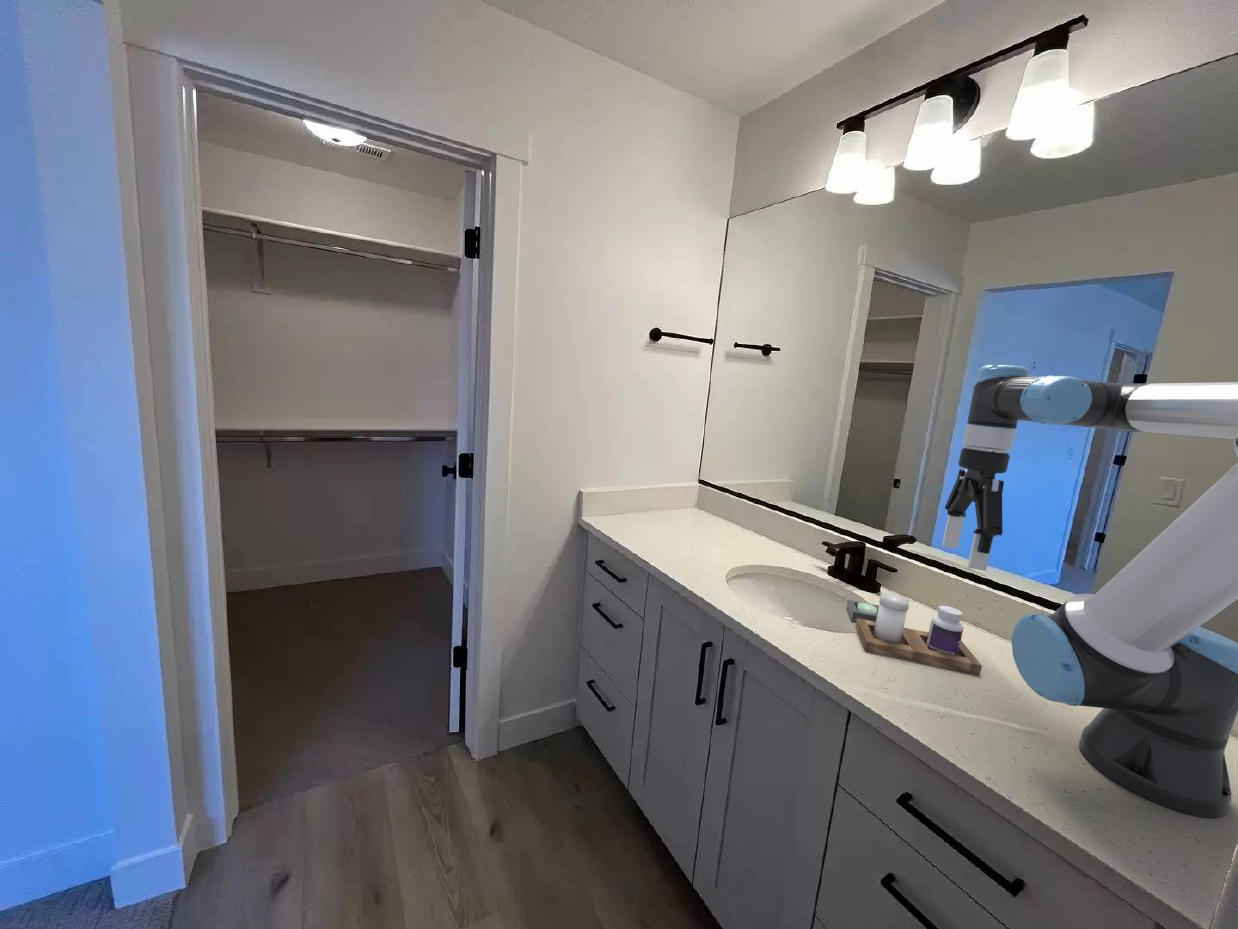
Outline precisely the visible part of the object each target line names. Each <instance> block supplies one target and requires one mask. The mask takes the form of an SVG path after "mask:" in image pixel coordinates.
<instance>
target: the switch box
mask: <svg viewBox="0 0 1238 929" xmlns="http://www.w3.org/2000/svg"><path fill="white" fill-rule="evenodd" d="M858 603H865V602H863V601H858V600H853V599H847V604H846V609H845V610H846V613H847V615H848V618H849V620H850V622H851V623H852V624H856V620H857V618H859V619H864V620H869V621H874V622H876V619H877V614H878V609H879V605H878V604H873V603H868V602H867V603H868V604H871V605H873V606H875V607H876V608H877V613H876V614H872V613H867V612H862V611H858V610H857V606H858Z"/></svg>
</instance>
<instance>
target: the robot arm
mask: <svg viewBox="0 0 1238 929" xmlns="http://www.w3.org/2000/svg"><path fill="white" fill-rule="evenodd" d="M1029 372H1030V371H1029V369H1028V368H1027V367H1026V366H1021V365H1020V366H1019V365H1009V364H1008V365H1007V364H1006V365H1005V364H998V365H997V364H986V365H983V366H982V367H980V368H979V369H978V373H977V377H976V380H975V383H974V385H973V391H972V396H971V402H970V407H969V410H968V412H969V413H968V417H967V423H966V425H965V428H964V433H963V438H962V442H961V444H963V445H964V447H962V449H961V448H960V449H961V450H960V455H959V459H958V464H957V465H958V466H959V467H960V469H959V470H958V473H957V478H956V480H955V483H954V485H953V488H952V489H951V492H950V494H949V497H948V499H947V501H946V502H945V506H944V509H945V510H946V511H947V519H946V525H945V530H944V533H943V538H942V543H941V544H942V545H941V547H945V548H951V549H959V546H960V540H961V535H962V531H963V527H964V522H965V518H967V513H966V511H967V510H968V509H969V507H970V505H971V504H972V502H974V507H975V516H976V524H977V528H975V529H974V531H973V533H974V535H973V541H972V544H971V547H970V548H971V549H970V552H969V553H970V554H969V558H968V562H967V568H969V569H973V570H980V571H987V568H988V564H989V560H990V556H991V550H992V546H993V541H994V537H996V536H1000V537H1001V536H1002V535H1003V490H1004V487H1005V486H1004V485H1005V482H1004V480H1000V479H996V474H1005V473H1007V470H1008V467H1009V462H1010V458H1011V455H1010V453H1007V451H1008V452H1009V451H1011V450H1012V447H1013V442H1014V440H1016V439H1017V437H1018V436H1017V434H1015V433H1016V429H1017V428H1018V427H1017V426H1018V421H1023V422H1024V421H1025V422H1029V423H1030V422H1032V423H1038V424H1046V425H1047V424H1049V425H1061V426H1073V427H1081V428H1094V429H1103V430H1112V431H1119V432H1124V433H1126V432H1127V433H1153V434H1155V433H1156V434H1168V435H1169V434H1170V435H1178V436H1179V435H1180V436H1181V435H1182V436H1193V437H1207V438H1219V439H1231V440H1234V441H1233V442H1232V447H1233V449H1234V452H1235V454H1236V457H1237V458H1238V381H1226V382H1225V381H1223V382H1222V381H1221V382H1220V381H1217V382H1215V381H1213V382H1173V383H1171V382H1167V383H1165V382H1163V383H1160V382H1159V383H1119V382H1117V383H1115V382H1105V381H1104V382H1103V381H1096V380H1088V379H1087V380H1086V379H1085V380H1084V379H1080V378H1078V377H1075V376H1067V375H1056V374H1050V375H1047V376H1046V375H1044V376H1029ZM1237 600H1238V462H1237V463H1236V464H1235V465H1234V466H1232V467H1231V468H1230V469H1229V470H1228V471H1227V472H1226V473H1225V474H1223V476H1222V477H1220V478H1219V480H1217V481H1216V482H1215V483H1214V484H1212V485H1211V487H1210V488H1208V490H1206V491H1205V492H1204V493H1203V494H1202V495H1201V496H1200V497H1199V498H1198V499H1196V501H1194V502H1193V503H1192V504H1191V505H1190V506H1189V507H1188V508H1187V509H1186V510H1184V512H1182V513H1181V514H1180V515H1179V516H1178V517H1177V518H1176V519H1175V520H1174V521H1172V522H1171V523H1170V524H1169V525H1168V526H1167V528H1165V529H1163V530H1162V532H1161V533H1160V534H1159V535H1157V536H1156V537H1155V538H1154V539H1153V540H1152V541H1151V542H1150V543H1149V544H1148V545H1147V546H1146V547H1144V548H1143V549H1142V550H1141V551H1140V552H1139V553H1137V555H1136V556H1135V557H1134V558H1133V559H1131V560H1130V561H1129V562H1128V563H1127V564H1126V565H1125V566H1124V567H1123V568H1122V569H1120V570H1119V571H1118V573H1117V574H1115V575H1114V576H1113V577H1112V578H1111V579H1110V580H1109V581H1108V582H1106V584H1105V585H1103V586H1102V587H1101V588H1100V589H1099V590H1098V591H1097V592H1095V594H1092V593H1078V594H1075V595H1073V596H1071V597H1069V598H1068V599H1067V600H1065V602H1064V603H1063V604H1061V606H1060V607H1059V608H1057V609H1056V610H1055V611H1054V612H1053V613H1051V614H1048V615H1047V614H1044V613H1039V612H1035V613H1029V614H1025V615H1023V616H1022V617H1020V618H1019V619H1018V620H1017V621H1016V623H1015V624H1014V626H1013V629H1012V633H1011V647H1012V648H1011V649H1012V650H1011V651H1012V656H1013V660H1014V663H1015V665H1016V669H1017V671H1018V673H1019V674H1020V676H1021V678H1022V679H1023V681H1024V683H1025V684H1026V685H1027V686H1028V687H1029V688H1030V689H1031V690H1032V691H1033V692H1034V693H1035V694H1037V695H1038V696H1040V697H1042V698H1044V699H1046V700H1047V701H1050V702H1055V703H1060V704H1065V705H1067V706H1071V707H1078V706H1080V707H1089V708H1099V709H1101V710H1100V711H1099V713H1097V715H1095V717H1093V719H1092V720H1091V721H1090V723H1089V724H1088V725H1086V726H1085V727H1084V728H1083V730H1082V731H1081V735H1080V739H1079V743H1078V747H1079V750H1080V752H1081V754H1082V755H1083V757H1084V758H1085V759H1086V760H1087V761H1088V762H1089V763H1090V764H1091V765H1093V767H1094V768H1096V769H1097V770H1098V771H1100V772H1101V773H1102V774H1104V775H1105V776H1106V777H1108V778H1110V779H1111V780H1112V781H1114V782H1115V783H1117V784H1119V785H1121V786H1122V787H1124V788H1125V789H1128V790H1129V791H1132V792H1133V793H1135V794H1137V795H1139V796H1141V797H1143V798H1146V799H1147V800H1150V801H1152V802H1154V803H1157V804H1159V805H1161V806H1164V807H1167V808H1169V809H1172V810H1175V811H1178V812H1181V813H1184V814H1188V815H1192V816H1196V817H1204V818H1221V817H1223V816H1225V815H1226V814H1228V813H1227V812H1228V810H1229V807H1230V806H1231V805H1230V804H1231V802H1232V790H1231V784H1230V777H1229V772H1228V766H1227V761H1226V755H1225V752H1226V747H1227V744H1228V741H1229V740H1230V739H1229V738H1230V734H1231V732H1232V730H1233V727H1234V724H1235V721H1236V718H1237V714H1238V642H1237V641H1234V640H1232V639H1230V638H1228V637H1226V636H1223V635H1221V634H1219V633H1216V632H1214V631H1211V630H1209V629H1207V628H1204V627H1202V625H1204V624H1205V623H1206V622H1208V621H1209V620H1210V619H1213V617H1214V616H1216V615H1218V614H1219V613H1220V612H1222V611H1224V609H1226V608H1227V607H1228V606H1230V605H1231V604H1233V603H1234V602H1235V601H1237Z"/></svg>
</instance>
